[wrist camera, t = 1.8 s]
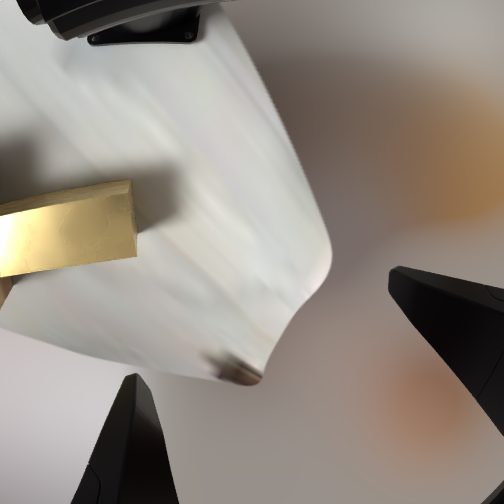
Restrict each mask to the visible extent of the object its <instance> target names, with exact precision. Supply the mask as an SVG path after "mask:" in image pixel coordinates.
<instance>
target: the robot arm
mask: <svg viewBox="0 0 504 504" xmlns="http://www.w3.org/2000/svg"><path fill="white" fill-rule="evenodd" d="M16 1H17V3H18V5H19V7H20V9H21V11H22V12H23V14H24V15H25V17H26V18H27V19H28V20H29V21H30V22H31V23H32V24H35V25H41V24H48V25H49V27H50V28H51V30H52V32H53V33H54V34H55V35H56V36H57V37H58V38H60V39H63V40H65V41H68V40H70V39H73V38H75V37H78V38H84V37H86V36H87V41H88V43H89V44H90V45H91V46H106V45H120V44H149V43H164V44H191V43H193V42H194V41H195V40H196V38H197V34H198V26H199V18H200V12H201V10H202V8H203V7H204V5H205V4H210V3H217V2H225V1H234V0H16ZM186 33H190V34H191V35H192V38H191V39H186V38H185V36H184V35H185V34H186ZM96 35H99V36H100V37H99V39H98V40H97V41H92V39H93V37H94V36H96ZM388 291H389V293H390V295H391V296H392V298H393V299H394V300H395V302H396V303H397V304H398V306H399V307H400V308H401V310H402V311H403V313H404V314H405V315H406V317H407V318H408V319H409V321H410V322H411V323H412V324H413V326H414V327H415V328H416V329H417V330H418V331H419V332H420V334H421V335H422V336H423V337H424V338H425V339H426V340H427V342H428V343H429V344H430V345H431V346H432V347H433V348H434V350H435V351H436V352H437V353H438V354H439V355H440V357H441V358H442V359H443V360H444V361H445V362H446V364H447V365H448V366H449V367H450V368H451V370H452V371H453V372H454V373H455V375H456V376H457V377H458V378H459V379H460V380H461V382H462V383H463V384H464V385H465V387H466V388H467V389H468V391H469V392H470V393H471V394H472V396H473V397H474V398H475V399H476V400H477V402H478V403H479V405H480V406H481V407H482V409H483V410H484V411H485V412H486V414H487V415H488V416H489V418H490V419H491V421H492V422H493V423H494V425H495V426H496V427H497V429H498V430H499V431H500V433H501V434H502V435H503V436H504V289H502V288H497V287H493V286H489V285H483V284H480V283H475V282H471V281H467V280H462V279H458V278H453V277H448V276H444V275H440V274H435V273H431V272H426V271H421V270H417V269H412V268H408V267H402V266H397V267H395V268H393V269H391V270H390V272H389V282H388ZM88 463H89V464H88V465H87V467H86V469H85V472H84V475H83V477H82V479H81V482H80V484H79V487H78V489H77V491H76V493H75V495H74V497H73V499H72V501H71V504H179V501H178V497H177V493H176V489H175V486H174V481H173V477H172V472H171V468H170V464H169V459H168V454H167V450H166V444H165V439H164V435H163V431H162V428H161V424H160V421H159V418H158V414H157V411H156V407H155V404H154V400H153V397H152V393H151V391H150V389H149V387H148V386H147V385H146V383H145V382H144V380H143V379H142V378H141V376H140V375H139V374H137V373H134V374H131V375H128V376H126V377H125V378H124V380H123V382H122V385H121V387H120V389H119V391H118V393H117V396H116V398H115V400H114V403H113V405H112V407H111V409H110V412H109V414H108V416H107V418H106V421H105V423H104V426H103V428H102V430H101V433H100V435H99V437H98V440H97V442H96V445H95V447H94V449H93V452H92V455H91V457H90V460H89V462H88ZM481 504H504V481H503V482H502V483H501V484H500V485H499V486H498V487H497V488H496V489H495V490H494V491H493V492H492V493H491V495H489V496H488V497H487V498H486V499H485V500H484V501H483V502H482V503H481Z"/></svg>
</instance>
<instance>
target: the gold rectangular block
mask: <svg viewBox="0 0 504 504" xmlns="http://www.w3.org/2000/svg"><path fill="white" fill-rule="evenodd" d="M131 257H137V227H136V220H135V212H134V204H133V195H132V186H131V179H129V180H122V181H115V182H108V183H102V184H96V185H90V186H84V187H78V188H73V189H67V190H62V191H57V192H52V193H47V194H42V195H37V196H33V197H28V198H24V199H19V200H15V201H11V202H7V203H3V204H0V277H5V276H12V275H18V274H24V273H31V272H37V271H44V270H50V269H57V268H63V267H70V266H76V265H83V264H90V263H96V262H103V261H110V260H117V259H124V258H131Z"/></svg>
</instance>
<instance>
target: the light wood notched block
mask: <svg viewBox="0 0 504 504" xmlns="http://www.w3.org/2000/svg"><path fill="white" fill-rule="evenodd" d="M12 287H13V283H12V279H11V276H5V277H0V309H1V307H2V305H3V303H4V301H5V300H6V298H7V296H8V294H9V292H10V291H11V289H12Z"/></svg>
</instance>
